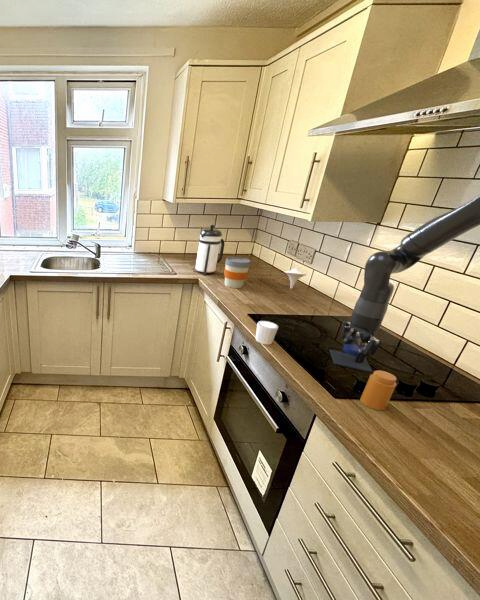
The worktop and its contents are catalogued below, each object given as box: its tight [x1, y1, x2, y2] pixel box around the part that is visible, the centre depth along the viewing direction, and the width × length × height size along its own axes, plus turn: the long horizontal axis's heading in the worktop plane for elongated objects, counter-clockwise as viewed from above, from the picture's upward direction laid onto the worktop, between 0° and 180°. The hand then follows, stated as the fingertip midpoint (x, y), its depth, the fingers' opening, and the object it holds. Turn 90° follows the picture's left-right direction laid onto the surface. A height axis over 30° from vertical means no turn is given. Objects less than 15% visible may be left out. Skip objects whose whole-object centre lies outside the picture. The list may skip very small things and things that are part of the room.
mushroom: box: [283, 267, 308, 290], centre depth 171 cm, size 10×11×12 cm
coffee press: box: [194, 224, 225, 276], centre depth 196 cm, size 17×16×30 cm
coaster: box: [328, 349, 374, 374], centre depth 107 cm, size 10×10×1 cm
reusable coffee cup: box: [223, 256, 251, 289], centre depth 175 cm, size 13×13×15 cm
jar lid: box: [343, 343, 365, 356], centre depth 106 cm, size 6×6×2 cm
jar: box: [359, 369, 397, 411], centre depth 86 cm, size 5×5×10 cm
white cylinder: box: [255, 320, 279, 346], centre depth 119 cm, size 7×7×7 cm
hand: (351, 357), depth 107 cm, fingers closed on jar lid, 5 cm apart
